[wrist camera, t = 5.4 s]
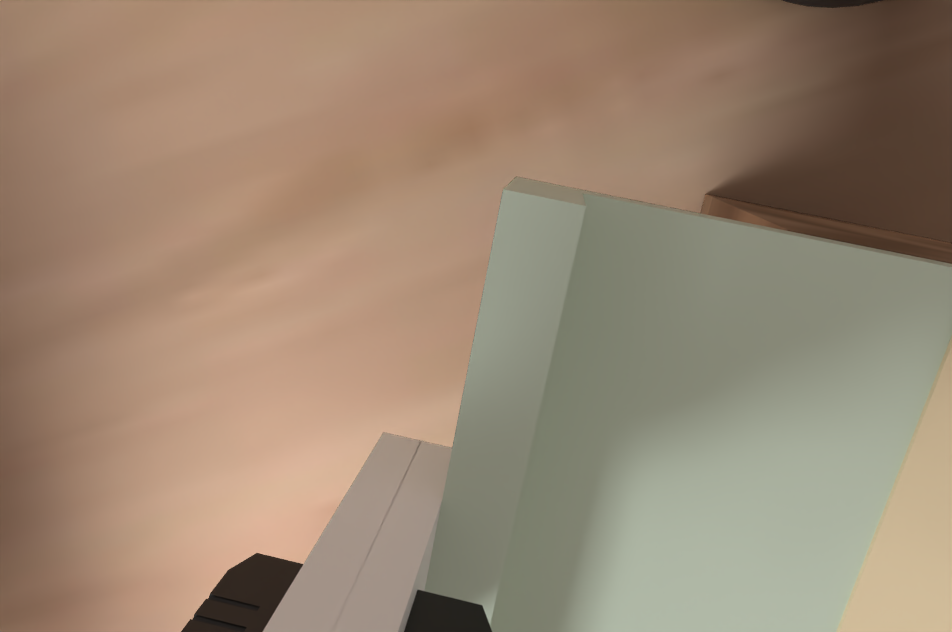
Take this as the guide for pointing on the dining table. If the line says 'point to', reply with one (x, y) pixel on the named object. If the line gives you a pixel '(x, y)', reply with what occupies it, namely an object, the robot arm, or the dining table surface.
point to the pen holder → (831, 3)
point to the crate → (827, 228)
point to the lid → (699, 428)
